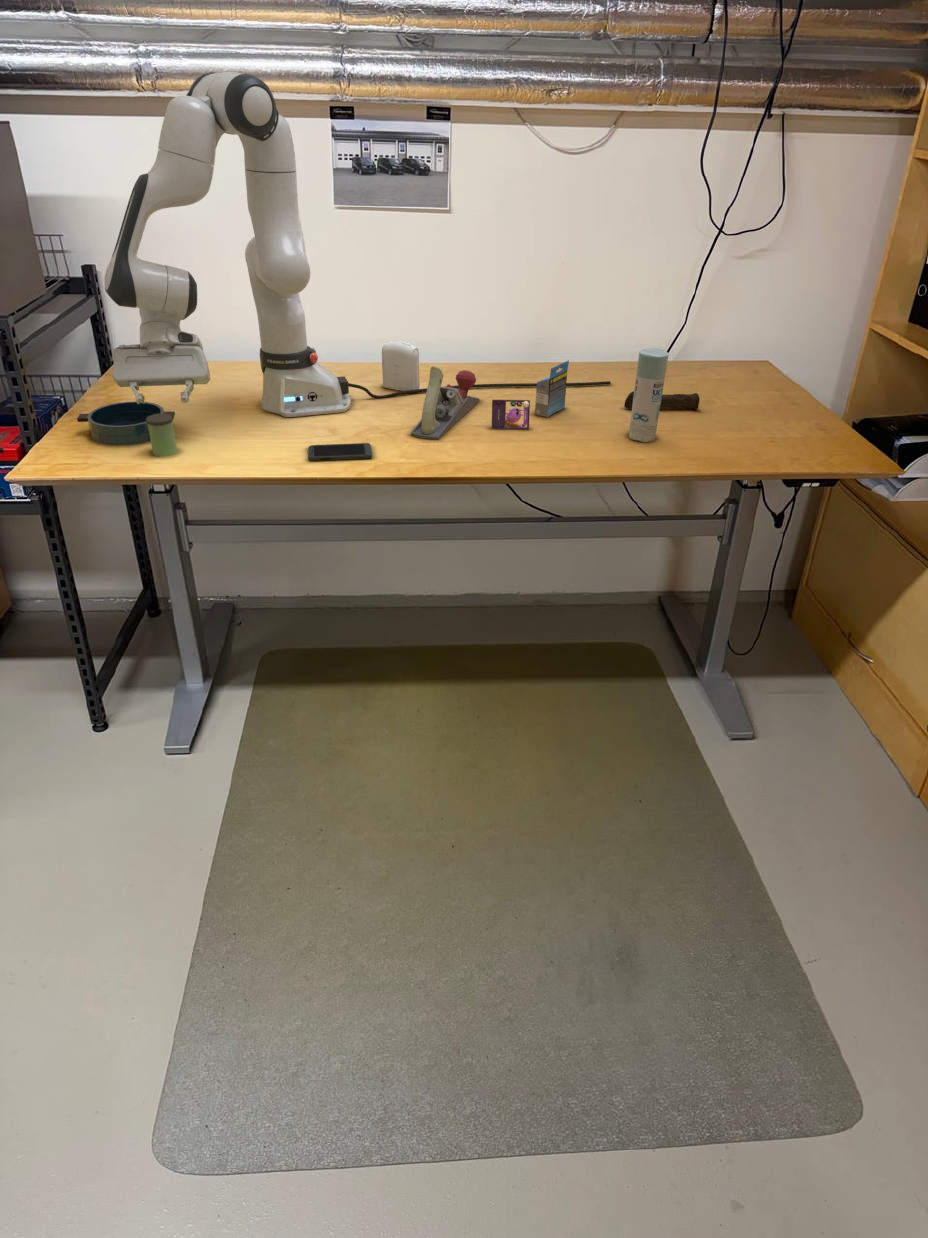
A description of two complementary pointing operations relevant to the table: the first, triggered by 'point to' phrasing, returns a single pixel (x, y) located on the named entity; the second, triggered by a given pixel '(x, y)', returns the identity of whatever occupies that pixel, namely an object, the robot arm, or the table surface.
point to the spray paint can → (647, 394)
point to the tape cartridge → (552, 392)
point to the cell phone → (340, 451)
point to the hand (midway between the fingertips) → (162, 402)
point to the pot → (122, 422)
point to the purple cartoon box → (512, 416)
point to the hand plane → (444, 404)
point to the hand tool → (671, 401)
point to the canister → (162, 434)
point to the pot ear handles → (84, 416)
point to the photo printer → (400, 366)
